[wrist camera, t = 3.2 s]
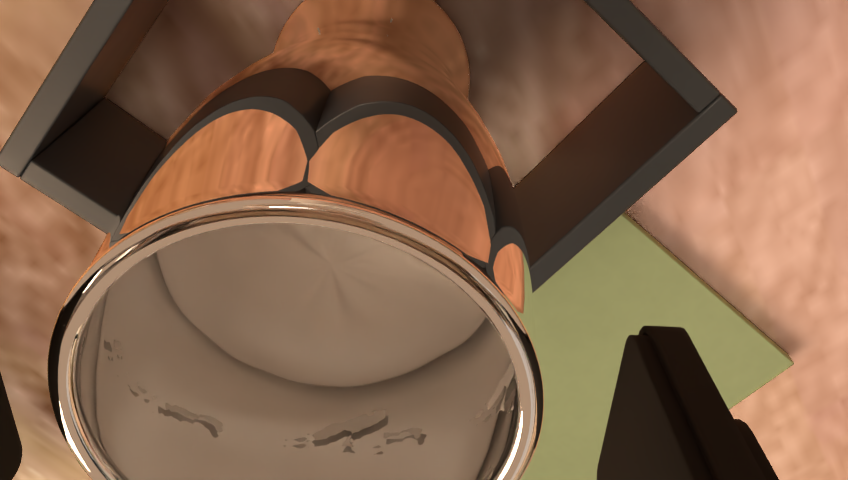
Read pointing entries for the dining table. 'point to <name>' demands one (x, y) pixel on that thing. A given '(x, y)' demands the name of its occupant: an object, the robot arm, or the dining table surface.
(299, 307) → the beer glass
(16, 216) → the dining table surface
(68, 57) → the basin
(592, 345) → the drying mat
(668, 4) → the dining table surface
